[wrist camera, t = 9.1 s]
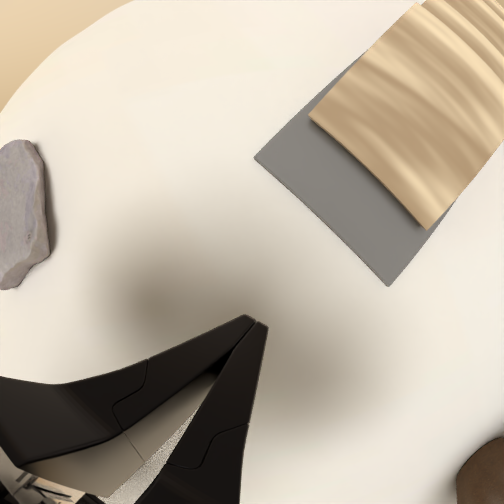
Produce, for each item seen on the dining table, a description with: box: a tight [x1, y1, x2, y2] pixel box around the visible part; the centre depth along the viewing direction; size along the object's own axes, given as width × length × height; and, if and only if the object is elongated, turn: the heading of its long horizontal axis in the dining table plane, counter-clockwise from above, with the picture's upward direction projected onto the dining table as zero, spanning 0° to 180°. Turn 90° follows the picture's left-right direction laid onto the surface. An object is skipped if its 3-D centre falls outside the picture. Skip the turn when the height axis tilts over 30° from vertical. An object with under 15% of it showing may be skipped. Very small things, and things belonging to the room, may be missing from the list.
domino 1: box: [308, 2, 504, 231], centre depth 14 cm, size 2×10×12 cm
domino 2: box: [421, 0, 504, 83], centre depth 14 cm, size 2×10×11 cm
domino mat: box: [254, 50, 458, 287], centre depth 17 cm, size 22×12×1 cm, turn 137°
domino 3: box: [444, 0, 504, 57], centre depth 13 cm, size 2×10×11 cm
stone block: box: [0, 139, 50, 290], centre depth 19 cm, size 12×5×10 cm
